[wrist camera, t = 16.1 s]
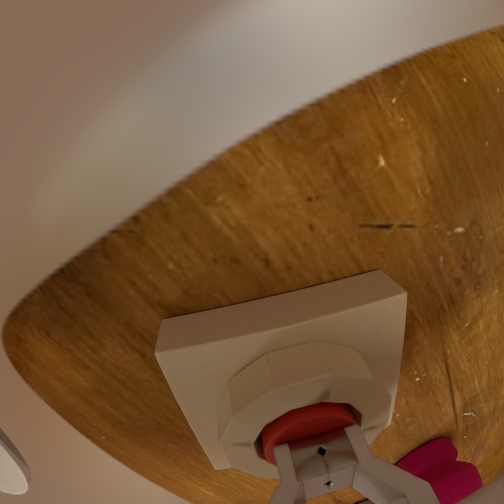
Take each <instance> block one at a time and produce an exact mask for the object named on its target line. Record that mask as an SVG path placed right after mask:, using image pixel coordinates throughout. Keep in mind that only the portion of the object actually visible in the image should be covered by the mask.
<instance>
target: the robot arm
mask: <svg viewBox="0 0 504 504" xmlns="http://www.w3.org/2000/svg"><path fill="white" fill-rule="evenodd" d="M288 445H289V446H288ZM273 447H274V454H275V459H276V464H277V468H278V473H279V478H280V482H281V485H280V486H277V487H276V489H275V491H274V493H273V495H272V497H271V499H270V501H269V503H268V504H305V503H306V499H310V498H314V497H317V496H321V495H324V494H327V493H331V492H334V491H338V490H342V489H345V488H348V487H352V488H354V489H355V490H357V491H358V492H359V493H361V494H362V495H364V496H365V497H367V498H368V499H369V500H371V501H372V502H374V503H375V504H440V502H439V500H438V498H437V497H436V495H435V493H434V491H433V489H432V487H431V485H430V484H429V482H427V481H425V480H422V479H420V478H418V477H416V476H414V475H412V474H410V473H408V472H406V471H404V470H402V469H400V468H398V467H397V466H395V465H393V464H391V463H389V462H387V461H385V460H383V459H381V458H380V457H376V458H374V456H373V454H372V452H371V450H370V448H369V445H368V443H367V441H366V439H365V437H364V435H363V433H362V431H361V429H360V427H359V425H358V424H353V425H350V426H347V427H344V428H340V429H337V430H334V431H331V432H328V433H325V434H321V435H318V436H316V437H311V438H308V439H304V440H300V441H296V442H292V443H286V444H282V445H278V446H273ZM455 504H504V472H502V473H501V474H500V475H498V476H497V477H495V478H494V479H493V480H491V481H490V482H488V483H487V484H485V485H484V486H482V487H481V488H479V489H478V490H476V491H475V492H473V493H472V494H470V495H468V496H467V497H465V498H464V499H462V500H460V501H459V502H457V503H455Z"/></svg>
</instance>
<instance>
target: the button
mask: <svg viewBox="0 0 504 504" xmlns="http://www.w3.org/2000/svg"><path fill="white" fill-rule="evenodd" d="M353 424H356V422H355V420H354V418H353V416H352V414H351V412H350V410H349V408H348V406H347V404H346V403H333V402H319V403H315V404H312V405H308V406H304V407H300V408H297V409H293V410H289V411H288V412H286V413H284V414H283V415H281V416H280V417H278V418H276V419H275V420H273V421H271V422H270V423H268V424H266V425H265V426H264V427H263V429H262V431H261V438H262V443H263V448H264V454H265V457H266V459H267V460H268V461H269V462H270V463H271V464H273V465H275V466H277V464H276V459H275V454H274V447H273V446H278V445H282V444H286V443H292V442H296V441H300V440H304V439H308V438H311V437H316V436H318V435H321V434H325V433H328V432H331V431H334V430H337V429H340V428H344V427H347V426H350V425H353ZM288 446H289V445H288Z"/></svg>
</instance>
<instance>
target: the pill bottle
mask: <svg viewBox="0 0 504 504" xmlns="http://www.w3.org/2000/svg"><path fill="white" fill-rule="evenodd" d="M358 504H375V503H374V502H372V501H371V500H367V501H364V502H361V503H358Z"/></svg>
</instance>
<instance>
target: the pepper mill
mask: <svg viewBox="0 0 504 504" xmlns="http://www.w3.org/2000/svg"><path fill="white" fill-rule="evenodd" d="M457 456H458V451H457V450H456V448H455V446H454V445H453V443H452V442H451V440H450V439H448V438H440V439H436V440H434V441H431V442H429V443H427V444H425V445H423V446H421V447H420V448H418V449H416V450H415V451H413V452H412V453H410V454H409V455H407V456H406V457H405V458H403V459H402V460H401V461H400V462H398V463H397V464H396V465H395V466H397V467H398V468H400V469H402V470H404V471H406V472H408V473H410V474H412V475H414V476H416V477H418V478H420V479H422V480H425V481H427V482H429V484H430V485H431V487H432V489H433V491H434V493H435V495H436V497H437V498H438V500H439V502H440V504H455V503H457V502H459V501H460V500H462V499H464V498H465V497H467V496H468V495H470V494H472V493H473V492H475V491H476V490H478V489H479V488H481V487H482V486H483V485H482V481H481V477H480V475H479V473H478V471H477V469H476V467H475V466H474V465H473V464H471V463H468V462H461V461H456V458H457Z"/></svg>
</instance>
